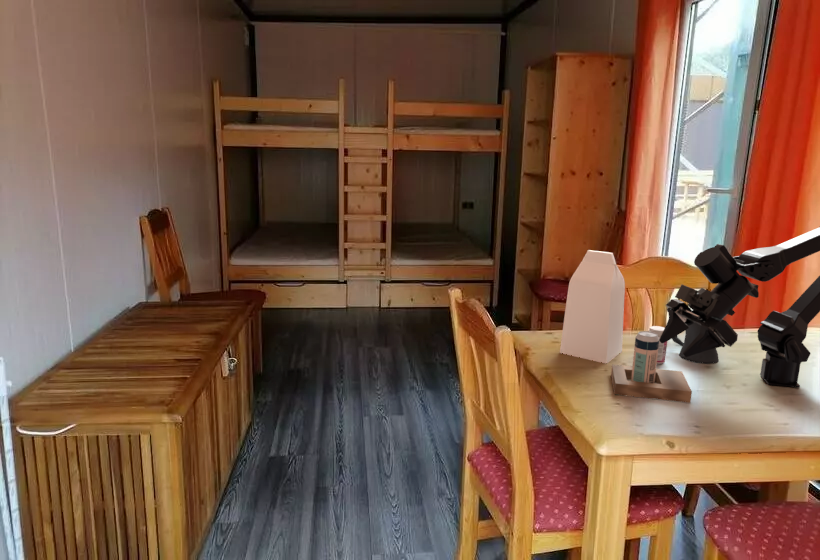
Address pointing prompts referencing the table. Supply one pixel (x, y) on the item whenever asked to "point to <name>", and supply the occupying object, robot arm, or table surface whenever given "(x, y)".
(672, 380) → the socket board
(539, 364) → the table surface
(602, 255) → the milk
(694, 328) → the mug
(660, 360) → the pill bottle
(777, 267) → the robot arm
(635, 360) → the beer can
